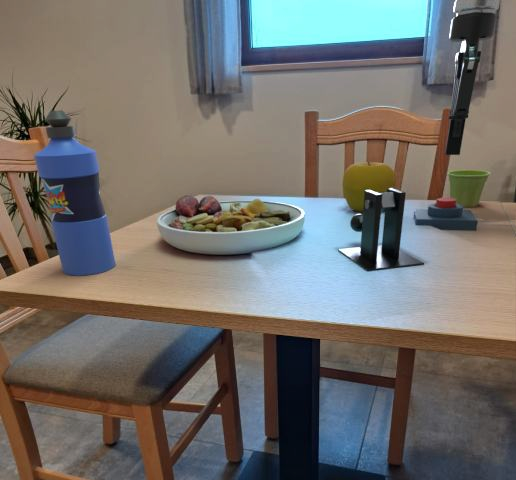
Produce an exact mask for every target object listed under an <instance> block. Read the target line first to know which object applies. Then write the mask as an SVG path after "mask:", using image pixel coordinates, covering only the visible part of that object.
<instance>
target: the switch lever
mask: <svg viewBox="0 0 516 480" xmlns="http://www.w3.org/2000/svg"><path fill="white" fill-rule="evenodd" d="M380 194H382V205H381V214H385V213H387V212H388V211H390V210H391V209H392V208H394V207H395V203H394V196H393V192H386V193H380ZM362 221H363V213H356V214H355V215H353V216H352V217H351V219H350V221H349V226H350V228H351V230H352V231H354V232H356V233H362Z"/></svg>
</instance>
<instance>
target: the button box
mask: <svg viewBox="0 0 516 480" xmlns="http://www.w3.org/2000/svg"><path fill="white" fill-rule="evenodd" d="M412 218H413V220H414V224H415V226H427V227H432V228H435V229H438V230H439V231H464V232H465V231H467V232H468V231H471V232H475V231H477V226H478V219H477V217H476V216H475V214H474V213H473V211H472V210H471V209H464V207H463V206H462V205H459V204H456V207H455V208H439V207H436V202H435V203H430V204H428V205H427V209H423V208H421V209H420V208H419V209H418V208H415V209H413V217H412Z"/></svg>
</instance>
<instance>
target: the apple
mask: <svg viewBox="0 0 516 480" xmlns="http://www.w3.org/2000/svg"><path fill="white" fill-rule="evenodd" d="M396 185H397V175H396V172H395V171H394V169H393V167H391V166H390V165H389V164H387V163H384V162H374V161H373V162H372V161H371V162H370V161H365V162H363V161H361V162H355V163H353V164H350V165H349V166H348V167H347V168H346V170H345V171H344V173H343V175H342V185H341V186H342V193H343V196H344V198H345V201H346V203H347V205H348V207H349V208H350V210H352V211H354V212H358V213H363V207H364V193H365V190H371V191H374V192H377V193H386V192H387V189H389V188H393V189H396V188H395V187H396Z"/></svg>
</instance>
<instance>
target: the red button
mask: <svg viewBox="0 0 516 480" xmlns="http://www.w3.org/2000/svg"><path fill="white" fill-rule="evenodd" d="M435 201H436V202H435V203H436V207H439V208H455V207H456V201H457V200H456V199H454V198H450V197H439V198H436V200H435Z"/></svg>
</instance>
